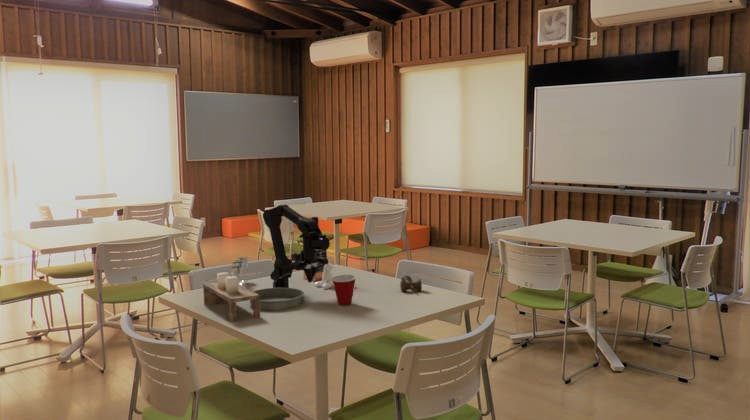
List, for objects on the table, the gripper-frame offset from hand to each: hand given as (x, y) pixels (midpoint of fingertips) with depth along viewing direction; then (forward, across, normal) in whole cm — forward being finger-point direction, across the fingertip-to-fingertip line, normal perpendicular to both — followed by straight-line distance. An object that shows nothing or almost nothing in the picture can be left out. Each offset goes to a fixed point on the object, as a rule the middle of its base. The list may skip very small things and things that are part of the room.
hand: (309, 282), depth 285 cm
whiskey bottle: (+7, -30, -28) cm, 42 cm away
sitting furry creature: (+7, -20, -10) cm, 23 cm away
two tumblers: (-2, +37, -11) cm, 39 cm away
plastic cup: (+7, -1, +20) cm, 21 cm away
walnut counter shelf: (+7, +36, -10) cm, 38 cm away
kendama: (+7, -40, +26) cm, 48 cm away
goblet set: (+8, +5, -44) cm, 45 cm away
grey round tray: (+8, +16, -5) cm, 19 cm away
